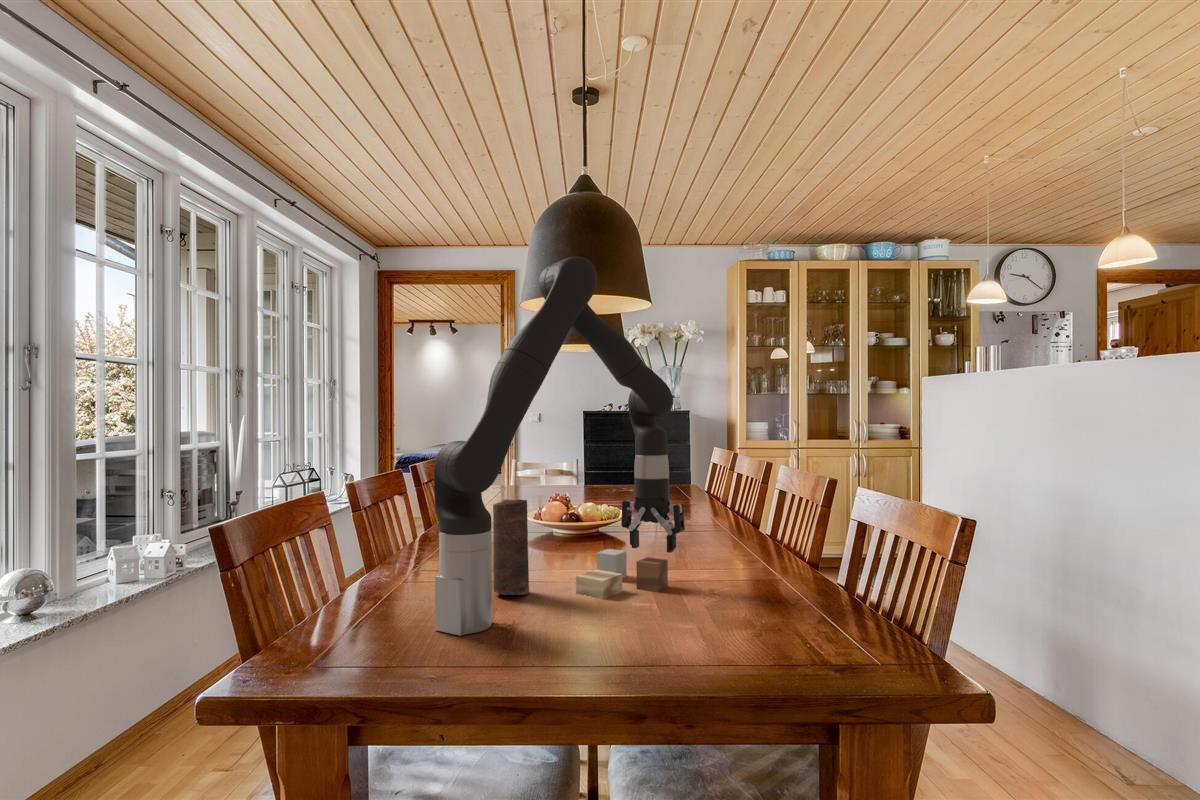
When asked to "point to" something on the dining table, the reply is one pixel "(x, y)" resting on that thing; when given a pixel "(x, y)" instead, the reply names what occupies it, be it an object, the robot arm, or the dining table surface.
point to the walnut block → (652, 574)
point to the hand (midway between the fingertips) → (652, 549)
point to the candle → (510, 547)
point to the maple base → (599, 583)
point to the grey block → (612, 561)
